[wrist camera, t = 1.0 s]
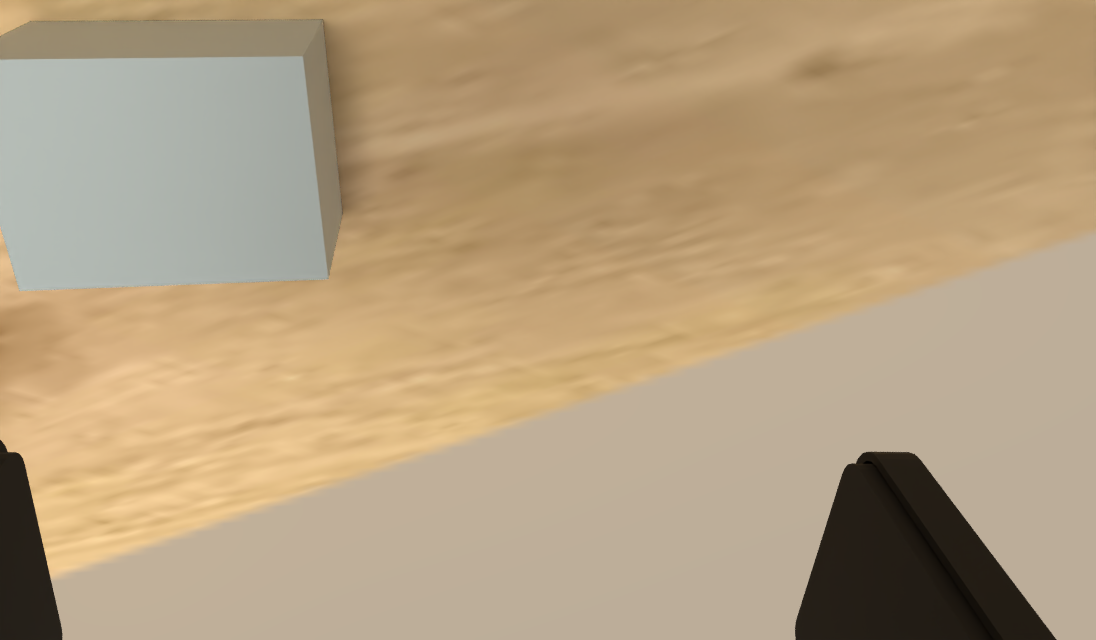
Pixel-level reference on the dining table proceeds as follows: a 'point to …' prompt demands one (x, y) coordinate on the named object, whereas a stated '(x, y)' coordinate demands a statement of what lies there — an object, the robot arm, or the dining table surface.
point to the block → (167, 153)
